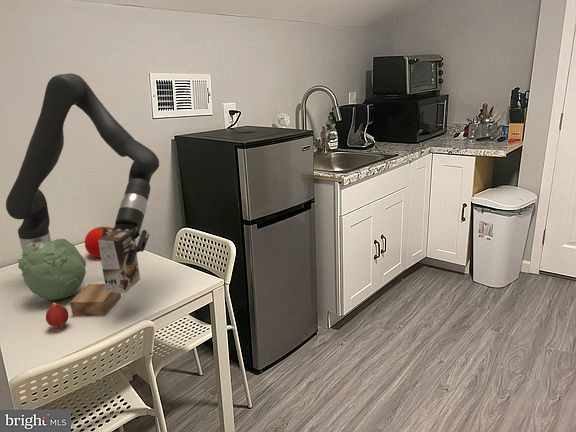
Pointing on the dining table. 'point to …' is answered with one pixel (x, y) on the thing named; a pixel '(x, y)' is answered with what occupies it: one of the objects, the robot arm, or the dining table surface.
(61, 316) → the onion
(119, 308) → the dining table surface
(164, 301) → the dining table surface
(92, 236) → the tomato
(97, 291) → the walnut box
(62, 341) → the dining table surface
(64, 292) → the cabbage
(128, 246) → the coffee box
